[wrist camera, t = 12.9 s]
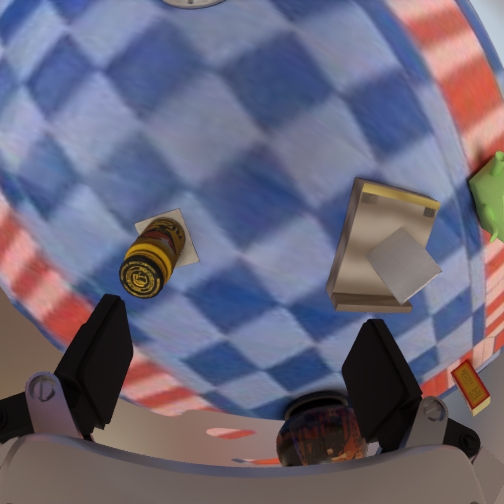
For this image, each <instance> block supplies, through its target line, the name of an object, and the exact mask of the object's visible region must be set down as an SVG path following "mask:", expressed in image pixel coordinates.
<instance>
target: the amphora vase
mask: <svg viewBox="0 0 504 504" xmlns="http://www.w3.org/2000/svg"><path fill="white" fill-rule="evenodd" d="M348 406H349V401H348V399H347V398H346V397H345V396H343V395H341V394H339V393H334V392H322V393H315V394H312V395H308V396H305V397H303V398H300V399H298V400H296V401H295V402H293V403H292V404H291V405H289V406H288V407H287V409H286V410H285V412H284V420H285V421H286V422H285V423H284V425H283V426H282V428H281V429H280V431H279V432H278V436H277V439H276V448H277V449H276V450H277V455H278V458H279V461H280V463H281V465H282V467H293V466H307V465H317V464H326V463H334V462H340V461H347V460H353V459H358V458H363V457H366V455H367V451H368V445H369V443H368V444H366V441H365V438H363V437H362V436H361V434H360V430H359V427H358V424H357V420H356V417H355V414H354V410H353V408H350V407H348Z"/></svg>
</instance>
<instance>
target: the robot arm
mask: <svg viewBox="0 0 504 504" xmlns="http://www.w3.org/2000/svg"><path fill="white" fill-rule="evenodd" d="M162 1H163V2H165V3H167V4H168V5H171V6H174V7H177V8H184V9H196V8H204V7H208V6H212V5H215V4H218V3H220V2H222V1H224V0H162ZM191 3H193V4H191ZM132 357H133V345H132V340H131V335H130V330H129V325H128V319H127V313H126V307H125V302H124V301H123V300H121V298H120V296H117V295H111V294H105V295H104V296H103V297H102V299H101V300H100V302H99V303H98V305H97V306H96V308H95V309H94V311H93V313H92V314H91V316H90V317H89V319H88V320H87V322H86V323H84V324H83V325H82V326H81V327H80V329H79V330H78V332H77V334H76V335H75V337H74V338H73V340H72V342H71V344H70V345H69V347H68V349H67V350H66V352H65V354H64V356H63V357H62V359H61V361H60V363H59V364H58V367H57V368H56V370H55V372H54V374H51V373H50V372H38V373H36V374H34V375H32V376H31V377H30V378H29V379H28V381H27V382H26V386H25V392H22V393H19V394H16V395H13V396H10V397H8V398H5V399H2V400H0V504H493V503H494V501H495V500H496V498H497V496H498V494H499V492H500V490H501V488H502V486H503V484H504V465H503V464H502V463H501V462H500V461H499V460H498V459H497V458H496V457H495V456H494V455H492V454H491V453H490V452H489V451H488V450H487V449H486V448H485V447H484V446H482V447H481V448H480V439H479V437H478V435H477V433H476V432H475V431H473V430H472V429H470V428H468V427H466V426H464V425H462V424H460V423H458V422H456V421H454V420H452V419H450V418H448V409H447V407H446V405H445V403H444V402H443V401H442V400H441V399H439V398H437V397H434V396H427V397H425V398H423V399H422V397H421V395H422V394H423V393H422V391H421V389H420V387H419V385H418V383H417V381H416V379H415V377H414V375H413V373H412V371H411V369H410V367H409V365H408V364H407V362H406V360H405V358H404V356H403V354H402V352H401V351H400V349H399V347H398V345H397V343H396V342H395V340H394V338H393V336H392V334H391V333H390V331H389V329H388V328H387V326H386V324H385V322H384V321H383V320H382V319H368V320H367V322H364V323H363V325H362V327H361V329H360V331H359V333H358V336H357V338H356V340H355V342H354V344H353V346H352V348H351V350H350V352H349V354H348V356H347V358H346V360H345V362H344V364H343V366H342V375H343V378H344V381H345V385H346V388H347V391H348V394H349V397H350V400H351V404H352V407H353V410H354V414H355V417H356V420H357V424H358V427H359V430H360V434H361V436H362V437H363V438H365V441H366V444H368V443H373V442H379V445H380V446H379V448H378V450H377V452H376V454H375V455H374V456H369V457H363V458H358V459H353V460H347V461H340V462H334V463H326V464H317V465H307V466H293V467H267V468H250V467H225V466H212V465H202V464H192V463H185V462H178V461H172V460H165V459H161V458H155V457H150V456H146V455H140V454H136V453H132V452H128V451H124V450H119V449H116V448H112V447H109V446H105V445H102V444H98V443H96V442H95V441H94V438H93V436H92V434H91V433H93V430H94V427H96V428H99V429H102V430H104V427H105V424H109V423H110V421H111V418H112V415H113V412H114V409H115V406H116V403H117V399H118V397H119V394H120V391H121V388H122V385H123V382H124V379H125V377H126V374H127V371H128V368H129V366H130V363H131V360H132Z"/></svg>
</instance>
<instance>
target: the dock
mask: <svg viewBox="0 0 504 504" xmlns="http://www.w3.org/2000/svg"><path fill="white" fill-rule="evenodd" d="M440 204H441V203H440V202H438V201H436V200H434V199H433V198H431V197H429V196H425V195H422V194H418V193H415V192H411V191H408V190H404V189H401V188H397V187H393V186H389V185H385V184H381V183H377V182H373V181H369V180H365V179H360V178H356V177H355V180H354V184H353V189H352V193H351V197H350V202H349V206H348V210H347V214H346V218H345V222H344V226H343V230H342V233H341V237H340V241H339V244H338V248H337V251H336V255H335V258H334V262H333V265H332V269H331V272H330V275H329V279H328V282H327V285H326V290H327V292H328V294H329V297H330V299H331V301H332V304H333V306H334V308H335V311H350V312H383V313H410V312H411V310H412V308H413V306H412V305H411V303H410V302H409V301H408V300H407V301H405V302H404V303H403V304H401V305H400V303H399V302H398V301H397V299H396V298H395V297H394V296H393V295H392V293H391V292H390V291H389V289H388V288H387V287H386V285H385V284H384V283H383V281H382V280H381V279H380V277H379V276H378V275H377V273H376V272H375V270H374V269H373V267H372V266H371V264H370V263H369V261H368V259H367V258H366V256H365V255H366V254H367V253H369V252H370V251H371V250H372V249H374V248H375V247H376V246H378V245H379V244H380V243H381V242H383V241H384V240H385V239H386V238H388V237H389V236H390V235H391V234H393V233H394V232H395V231H396V230H398V229H399V228H401V229H403V230H404V231H405V232H406V233H408V234H409V235H410V236H411V237H412V238H414V239H415V240H416V241H417V242H418V243H420V244H421V245H422V247H423V248H424V249H425V247H426V244H427V241H428V238H429V235H430V232H431V229H432V226H433V223H434V220H435V217H436V214H437V210H439V208H440Z"/></svg>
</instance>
